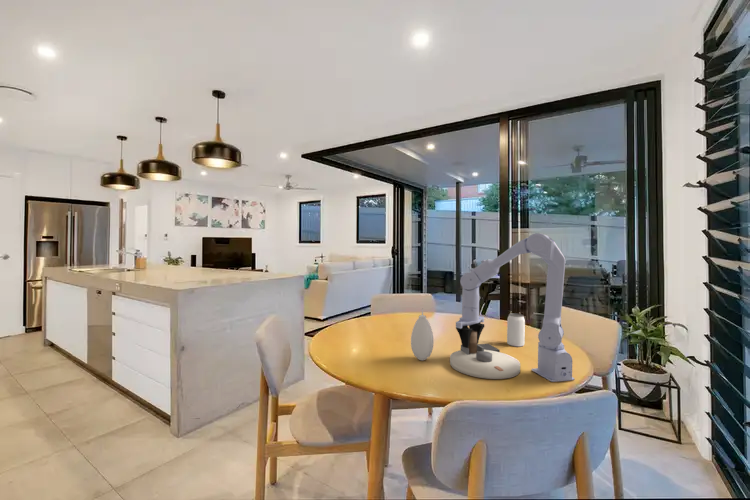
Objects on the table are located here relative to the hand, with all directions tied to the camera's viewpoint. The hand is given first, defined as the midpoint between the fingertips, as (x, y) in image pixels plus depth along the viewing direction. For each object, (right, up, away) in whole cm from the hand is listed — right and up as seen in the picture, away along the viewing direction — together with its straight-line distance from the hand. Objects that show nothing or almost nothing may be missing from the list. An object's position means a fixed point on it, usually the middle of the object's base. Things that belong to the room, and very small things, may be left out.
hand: (470, 345), depth 120 cm
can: (+23, -5, +18) cm, 29 cm away
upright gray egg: (-17, -5, -1) cm, 18 cm away
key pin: (0, -2, 0) cm, 2 cm away
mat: (+8, -5, +10) cm, 14 cm away
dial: (+3, -5, -7) cm, 9 cm away
